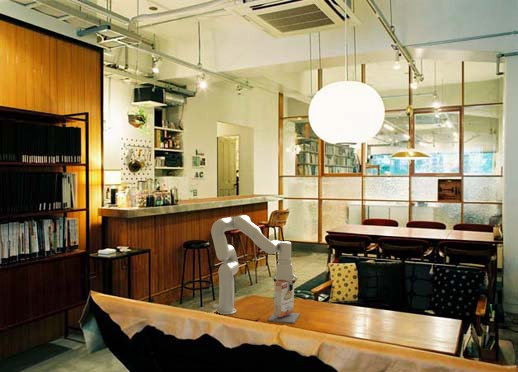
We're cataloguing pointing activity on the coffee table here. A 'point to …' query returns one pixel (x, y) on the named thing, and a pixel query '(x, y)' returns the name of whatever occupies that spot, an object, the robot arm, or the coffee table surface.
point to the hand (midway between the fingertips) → (284, 290)
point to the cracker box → (283, 298)
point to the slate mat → (285, 318)
